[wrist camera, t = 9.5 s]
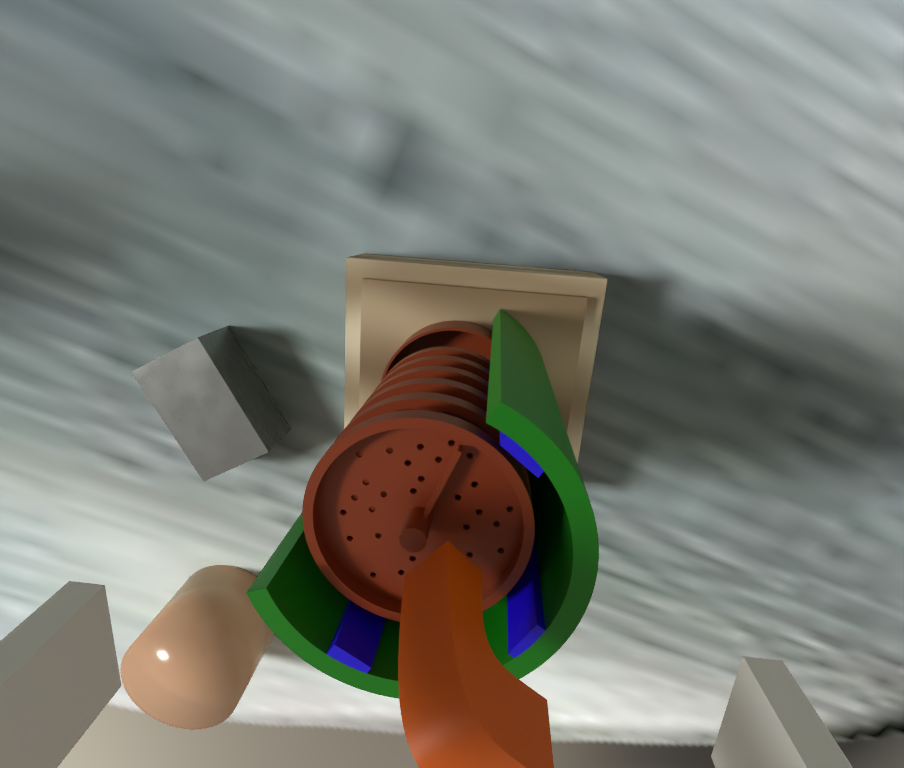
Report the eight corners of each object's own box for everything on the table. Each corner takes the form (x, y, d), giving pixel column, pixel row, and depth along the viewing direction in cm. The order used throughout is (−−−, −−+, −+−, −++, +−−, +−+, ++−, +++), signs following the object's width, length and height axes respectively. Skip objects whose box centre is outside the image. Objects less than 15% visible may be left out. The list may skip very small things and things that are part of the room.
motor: (452, 272, 27) (358, 384, 8) (584, 370, 28) (776, 672, 9) (350, 416, 30) (107, 747, 11) (474, 500, 31) (447, 936, 12)
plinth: (364, 253, 32) (343, 258, 27) (593, 272, 31) (609, 280, 27) (359, 460, 36) (340, 492, 32) (561, 480, 35) (571, 516, 31)
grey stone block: (170, 355, 35) (130, 372, 31) (230, 324, 34) (197, 337, 30) (233, 454, 37) (203, 481, 33) (292, 428, 36) (268, 452, 32)
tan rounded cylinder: (177, 559, 40) (113, 626, 33) (278, 570, 39) (235, 641, 33) (185, 642, 42) (127, 721, 36) (281, 654, 42) (241, 736, 35)
